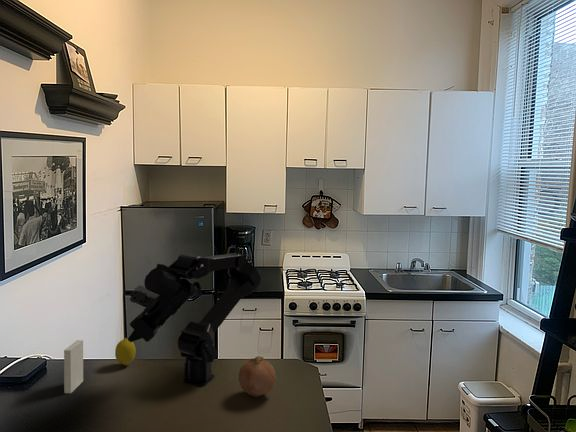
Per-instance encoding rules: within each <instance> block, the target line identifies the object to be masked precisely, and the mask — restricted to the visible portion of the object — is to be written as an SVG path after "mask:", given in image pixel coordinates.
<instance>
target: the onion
mask: <svg viewBox="0 0 576 432" xmlns="http://www.w3.org/2000/svg"><path fill="white" fill-rule="evenodd" d="M276 380H277V377H276V372H275V368H274V367H273V365H272V364H271V363H270V362H269V361H268V360H265V358H264V357H262V356H260V355H259V356H255V357H254V358H251V359H248V360H247V361H246V362H245V363H244V364H242V366H241V367H240V369H239V372H238V383H239V386H240V388H241V389H242V390H243V392H245V393H247V394H248V395H249V396H250V397H257V398H258V397H259V398H260V396H263V395H266V394H268V393H269V392H270V391H271V390H273V389H274V387H275V384H276Z"/></svg>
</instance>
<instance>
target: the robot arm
mask: <svg viewBox="0 0 576 432" xmlns="http://www.w3.org/2000/svg"><path fill="white" fill-rule="evenodd" d="M224 270H227V274H228V276H229V278H228V279H229V280H228V287H227V288H226V290H225V291H224V292H223V293H222V295H221V296H220V297H219V298H218V299H217V300H216V302H215V303H214V304H213V305H212V306H211V308H210V309H209V310H208V311H207V313H206V314H205V315H204V317H203V318H201V320H200V321H198V322H196V321H190V322H188V323H187V325H186V326H185V328H183V330H180V333H181V334H180V335H179V336H178V339H177V349H178V351H179V353H180V355H181V357H183V358H185V362H184V366H183V370H184V371H183V373H184V375H183V376H184V378H183V379H182V380H181V382H182V383H184V384H190V385H195V386H199V387H204V386H205V385H206V384H208V383H209V382H210V381H212V380H213V379H214V378H215V375H214V374H212V372H213V371H212V368H213V367H212V366H213V365H212V363H214V360H216V359H217V356H218V354H219V353H218V352H219V351H218V349H217V348H216V347H215V346H214V345H213V344H214V343H215V341H214V340H215V333H216V331H217V330H218V329H219V328H220V326H221V325H222V324H223V323H224V321H225V320H226V319H227V318H228V316H229V315H230V313H231V312H232V311H233V309H234V308H235V307H236V306H237V305H238V303H239V301H240V300H241V299H242V298H243V297H246V296H248V295H250V294H252V293H253V292H254V291H255V290H257V288H258V287H260V286H259V285H260V284H261V280H262V278H261V275H260V273H259V271H258V270H257V268H256V267H255V266H254V265H253V264H251V263H250V262H249V261H248V260H247V259H246V257H245V256H244V255H243V254H242V253H240V254H239V253H233V252H230V253H229V252H228V253H227V254H216V255H209V256H199V255H192V254H186V253H184V254H183V253H182V254H179V255H178V258H177V259H176V260H175V261H173V262H172V263H171V264H170V265H168V266H167V265H166V264H162V263H157V264H156V267H155V268H153V269H151V270H150V271H149V272H148V273H147V274H146V275H145V278H144V282H143V283H144V285H143V286H142V285H137V286H136V287H135V288H134V290H133V291H132V293H131V294H130V298H129V301H130V302H131V303H135V304H137V305H139V306H141V307H144V309H143V311H142V312H141V313H139V314H137V316H136V317H135V318H133V320H132V321H131V322H130V323H129V325H130V327H131V328H132V330H133V331H132V332H131V334H130V335H129V337H128V338H127V339H128V341H129V342H133V343H134V342H136V341H139V340H142V339H143V340H144V342H147V343H148V342H150V341H151V340H152V339H153V338H154V337H155V336H156V335H157V333H158V330H159V329H160V328H161V327H163V325H164V324H165V323H166V322H167V321H168V320H169V319H170V318H171V317H172V316H174V315H175V314H176V313H177V312H178V311H179V310H180V309H181V308H182V307H183V305H185V304H187V302H188V301H189V300H190V299H192V297H193V296H198V297H201V296H202V286H201V284H200V282H199V281H196V282H195V281H194V282H193V281H191V280H192V279H195V280H200V279H202V278H204V277H207V276H208V275H209V274H210V273H211V272H216V271H224Z"/></svg>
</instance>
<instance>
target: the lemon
mask: <svg viewBox="0 0 576 432" xmlns="http://www.w3.org/2000/svg"><path fill="white" fill-rule="evenodd" d="M114 353H115V355H114V356H115V359H116V361H117V362H118V363H119V364H122V365H124V366H127V365H128V364H130V363H131V362H133V361H134V359H135V358H136V346H135V343H134V341H133V342H129V341H128V338H127V337H124V338H123V339H122V340H120V341H119V342H118V343H117V344H116V346H115V352H114Z"/></svg>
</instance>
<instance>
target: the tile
mask: <svg viewBox="0 0 576 432" xmlns="http://www.w3.org/2000/svg"><path fill="white" fill-rule="evenodd" d="M63 359H64V361H63V366H64V367H63V368H64V369H63V370H64V371H63V372H64V373H63V379H64V381H63V382H64V383H63V385H64V386H63V388H64V390H63V391H64V392H63V394H72V393H73V392H74V391H75V390H76V389H77V387H79V386H81V384H82V383H83V382H84V340H82V339H81V340H80V339H79V340H78V339H77V340H75V341H74V342H72V343H71V344H70V345H69V346H68V347H66V348H65V349H64V350H63Z"/></svg>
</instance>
